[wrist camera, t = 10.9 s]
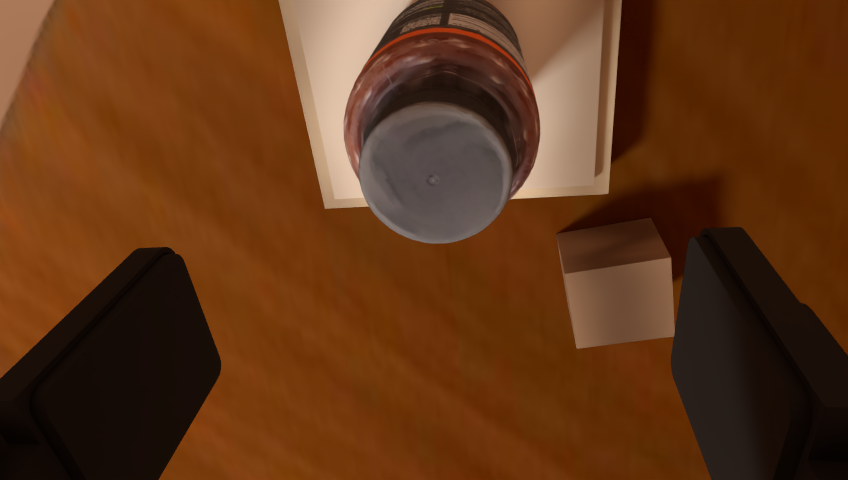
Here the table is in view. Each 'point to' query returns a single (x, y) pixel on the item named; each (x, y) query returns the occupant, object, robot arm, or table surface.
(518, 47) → the supplement bottle
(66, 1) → the table surface
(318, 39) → the stand
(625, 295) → the beige block
